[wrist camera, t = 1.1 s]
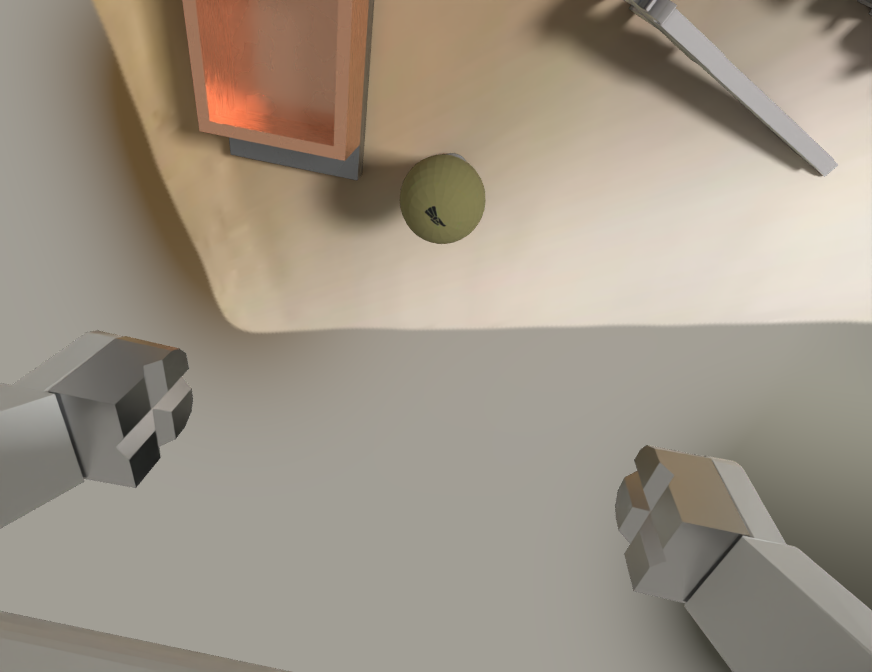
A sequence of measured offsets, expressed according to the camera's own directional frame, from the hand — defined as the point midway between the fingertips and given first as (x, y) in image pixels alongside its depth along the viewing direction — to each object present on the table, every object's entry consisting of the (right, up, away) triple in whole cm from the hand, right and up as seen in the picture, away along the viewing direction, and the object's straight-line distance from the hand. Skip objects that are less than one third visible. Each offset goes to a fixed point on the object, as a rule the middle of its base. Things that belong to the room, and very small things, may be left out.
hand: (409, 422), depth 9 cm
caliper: (+20, +19, +24) cm, 36 cm away
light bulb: (+2, +15, +29) cm, 32 cm away
